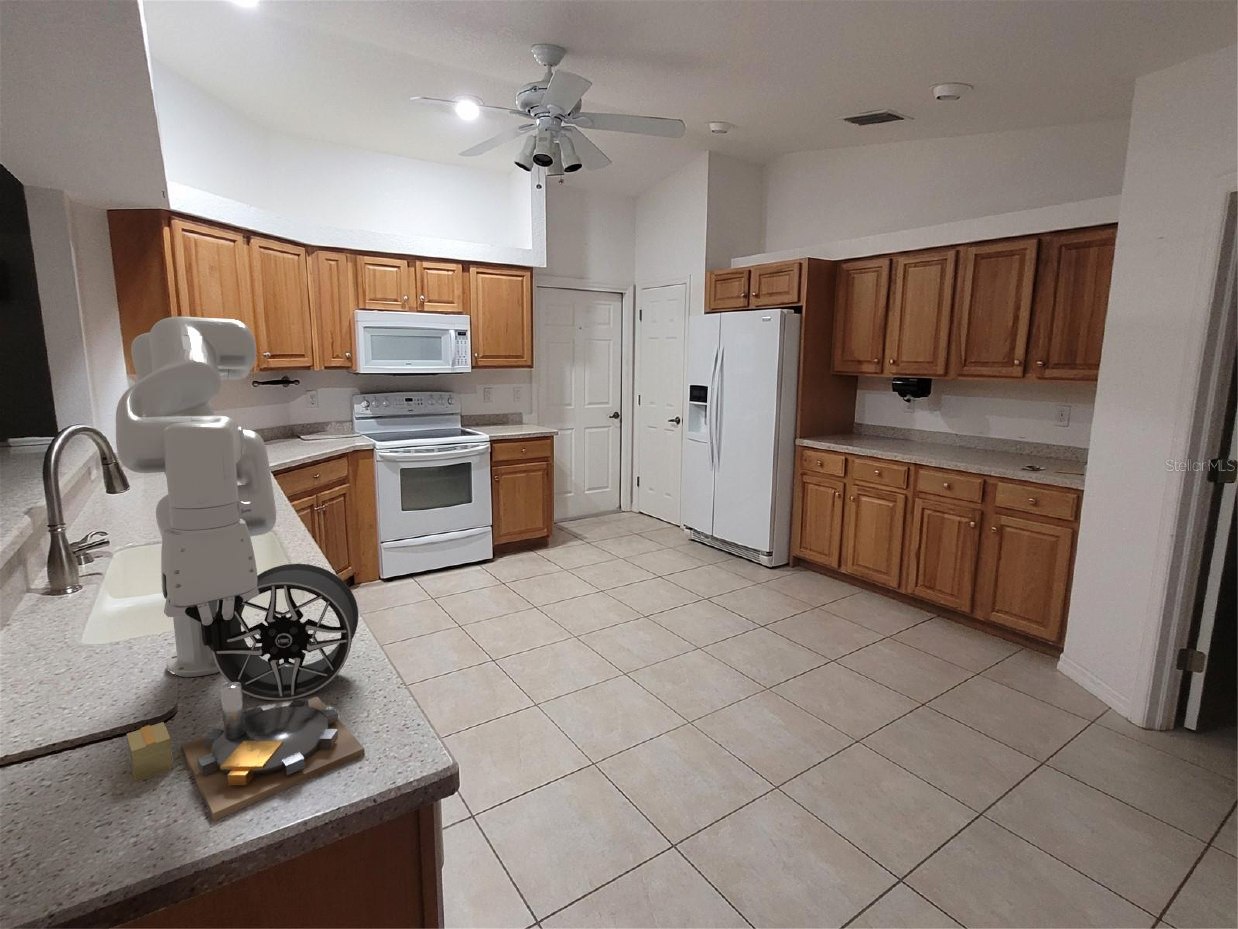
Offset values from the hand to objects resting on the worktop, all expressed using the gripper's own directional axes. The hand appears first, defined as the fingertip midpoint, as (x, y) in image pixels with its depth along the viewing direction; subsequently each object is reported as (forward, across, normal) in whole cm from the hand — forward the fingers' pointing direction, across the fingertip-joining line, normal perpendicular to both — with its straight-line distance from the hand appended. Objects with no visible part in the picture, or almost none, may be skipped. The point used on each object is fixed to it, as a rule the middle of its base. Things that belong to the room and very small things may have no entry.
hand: (217, 647), depth 82 cm
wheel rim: (+16, -13, -12) cm, 23 cm away
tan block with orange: (+16, +8, -3) cm, 18 cm away
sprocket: (+14, -4, +5) cm, 16 cm away
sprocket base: (+15, -4, +5) cm, 17 cm away
